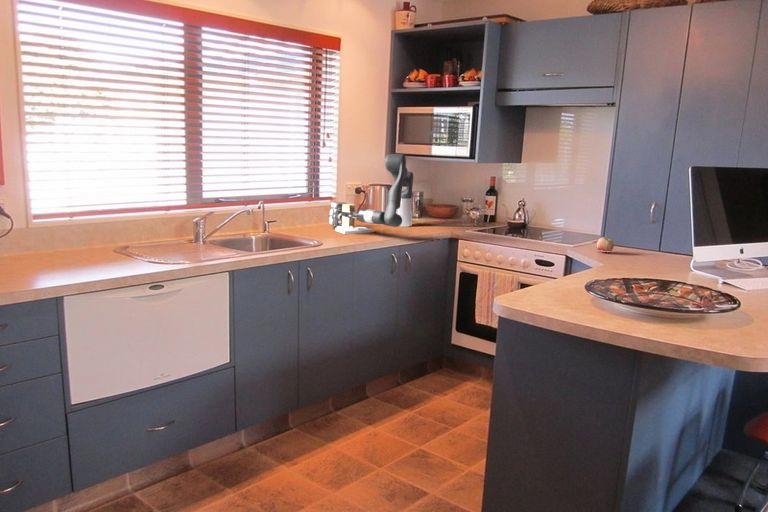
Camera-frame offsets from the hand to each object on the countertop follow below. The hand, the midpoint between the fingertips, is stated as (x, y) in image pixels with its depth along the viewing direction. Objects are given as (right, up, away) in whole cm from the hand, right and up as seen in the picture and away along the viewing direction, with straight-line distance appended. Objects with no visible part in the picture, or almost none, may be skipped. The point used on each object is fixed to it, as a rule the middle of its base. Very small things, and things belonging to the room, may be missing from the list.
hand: (344, 212), depth 344 cm
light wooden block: (+2, -7, 0) cm, 8 cm away
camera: (-4, -8, +12) cm, 15 cm away
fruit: (+135, -23, -29) cm, 140 cm away
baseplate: (+5, -10, +3) cm, 12 cm away
